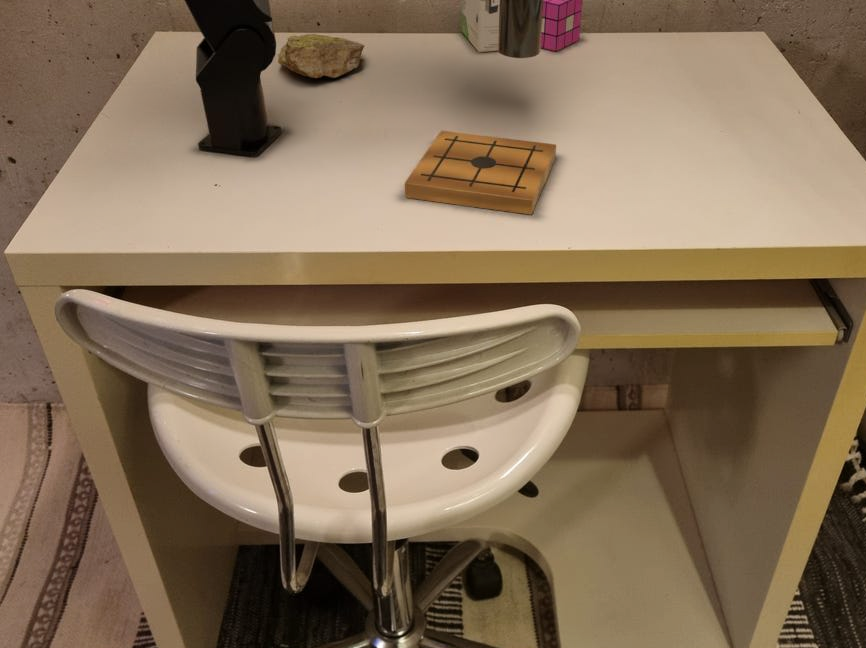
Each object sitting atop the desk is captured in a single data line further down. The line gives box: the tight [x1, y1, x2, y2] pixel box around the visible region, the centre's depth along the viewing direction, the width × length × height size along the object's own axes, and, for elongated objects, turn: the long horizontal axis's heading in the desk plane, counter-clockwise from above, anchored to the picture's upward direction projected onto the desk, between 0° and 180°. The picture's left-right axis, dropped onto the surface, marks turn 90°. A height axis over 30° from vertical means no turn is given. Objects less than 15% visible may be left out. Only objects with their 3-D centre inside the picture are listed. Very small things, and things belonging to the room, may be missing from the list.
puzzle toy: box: [540, 0, 584, 53], centre depth 109 cm, size 6×6×6 cm
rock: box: [277, 33, 365, 79], centre depth 102 cm, size 13×10×4 cm
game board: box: [404, 130, 557, 215], centre depth 81 cm, size 12×12×2 cm
